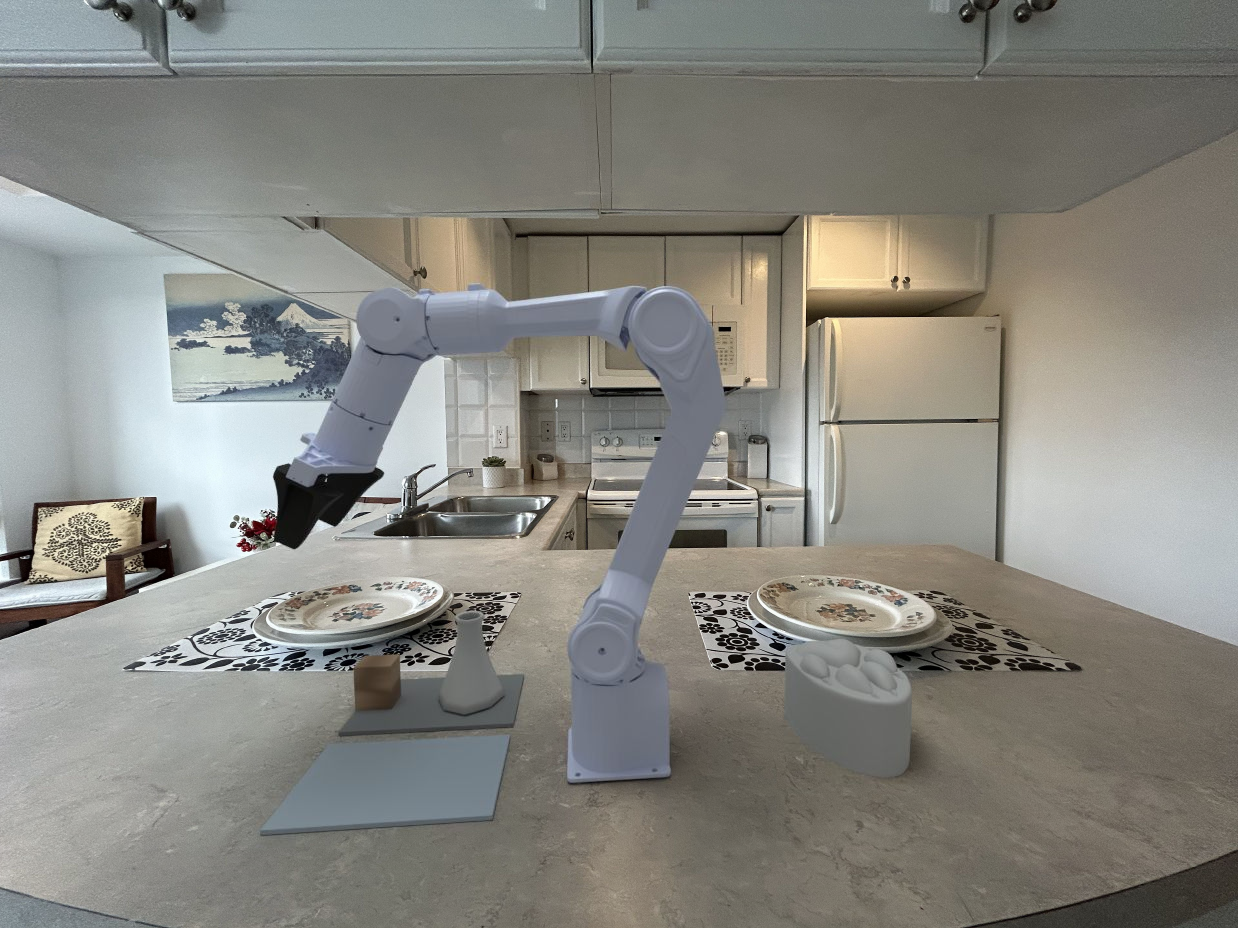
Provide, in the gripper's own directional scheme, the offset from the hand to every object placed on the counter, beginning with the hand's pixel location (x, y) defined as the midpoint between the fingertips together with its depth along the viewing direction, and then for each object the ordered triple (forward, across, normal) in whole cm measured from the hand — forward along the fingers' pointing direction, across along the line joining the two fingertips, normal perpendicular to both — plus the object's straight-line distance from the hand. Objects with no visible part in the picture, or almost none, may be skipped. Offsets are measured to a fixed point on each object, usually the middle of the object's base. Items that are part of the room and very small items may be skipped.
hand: (308, 532), depth 51 cm
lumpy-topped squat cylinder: (-6, +5, +59) cm, 59 cm away
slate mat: (+14, +9, +19) cm, 25 cm away
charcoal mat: (+15, -4, +20) cm, 25 cm away
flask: (+13, -4, +23) cm, 26 cm away
